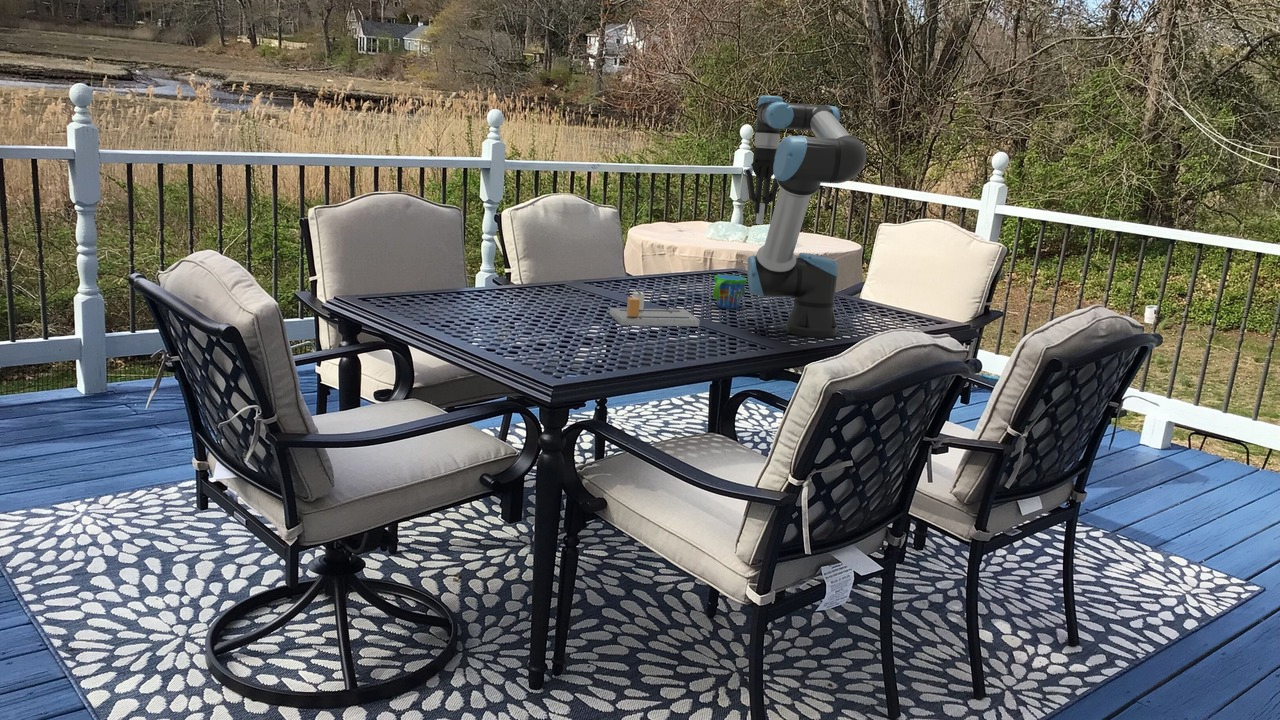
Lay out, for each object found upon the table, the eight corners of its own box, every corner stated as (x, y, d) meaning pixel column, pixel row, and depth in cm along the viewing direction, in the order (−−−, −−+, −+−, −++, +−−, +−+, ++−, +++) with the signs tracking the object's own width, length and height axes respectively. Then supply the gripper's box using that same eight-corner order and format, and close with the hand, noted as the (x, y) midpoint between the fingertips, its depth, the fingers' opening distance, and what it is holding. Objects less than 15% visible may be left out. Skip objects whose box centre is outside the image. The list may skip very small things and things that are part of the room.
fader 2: (638, 316, 289) (639, 298, 288) (629, 316, 288) (630, 298, 287) (635, 314, 292) (636, 296, 291) (626, 313, 292) (627, 296, 291)
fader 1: (643, 310, 299) (644, 292, 298) (634, 309, 299) (635, 292, 297) (640, 307, 303) (641, 290, 302) (631, 307, 302) (632, 290, 301)
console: (699, 326, 293) (699, 319, 292) (621, 325, 287) (621, 318, 286) (684, 315, 308) (684, 308, 308) (609, 314, 303) (609, 307, 302)
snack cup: (731, 302, 336) (733, 273, 334) (755, 308, 329) (757, 278, 327) (700, 306, 326) (702, 276, 323) (724, 312, 319) (726, 281, 316)
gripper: (781, 148, 308) (774, 223, 314) (742, 145, 305) (735, 221, 311) (790, 149, 301) (783, 226, 307) (750, 146, 298) (743, 224, 304)
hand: (759, 223), depth 309 cm, fingers closed
